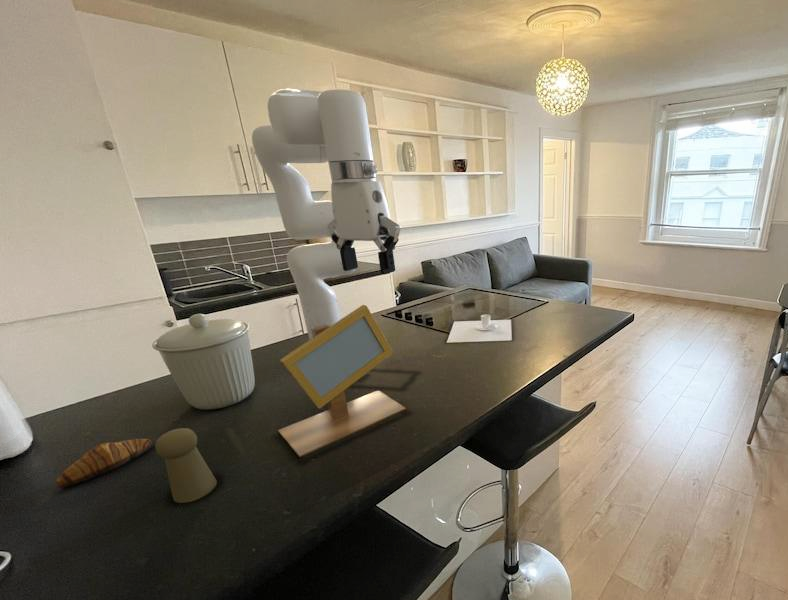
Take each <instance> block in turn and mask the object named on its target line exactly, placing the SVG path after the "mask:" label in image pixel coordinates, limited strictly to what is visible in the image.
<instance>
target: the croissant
mask: <svg viewBox="0 0 788 600" xmlns="http://www.w3.org/2000/svg"><path fill="white" fill-rule="evenodd" d="M152 447H153V442H152V440H151V439H150V438H133V439H126V440H121V441H117V442H105V443H100V444H98V445H96V446H94V447H93V448H91V449H89V450H87V451H85V453H84V454H83V455H82V456H81V457H80V458H79V459H77V460H75V461H74V462H73V463H72V464H71V465H69V466H68V467H67V468H65V469H64V470H63V471H62V472H61V473H60V475H58V477H57V478H56V486H58V487H59V488H61V489H65V488H68V487H71V486H75V485H78V484H82V483H84V482H86V481H89V480H91V479H94V478H96V477H99V476H101V475H103V474H107V473H109V472H111V471H113V470H116V469H118V468H119V467H122V466H123V465H125V464H127V463H128V462H130V461H132V460H134V459H136V458H137V457H140V456H141V455H143V454H144V453H146V452H147V451H149V450H150V449H151V448H152Z"/></svg>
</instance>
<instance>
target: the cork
mask: <svg viewBox="0 0 788 600" xmlns="http://www.w3.org/2000/svg"><path fill="white" fill-rule="evenodd" d="M197 444H198V436H197V434H196V433H195V432H194V430H193V429H190V428H186V427H185V428H184V427H183V428H182V427H181V428H176V429H171V430H169V431H166V432H165V433H163V434H162V435H160V436H159V437H158V438H157V439H156V442H155V444H154V446H155V447H154V448H155V451H156V453H157V454H158V455H159V457H161V458H164V463H165V467H166V472H167V477H168V482H169V486H170V491H171V495H172V500H173V501H174V502H176V503H178V504H185V503H191V502H194V501H198V500H199V499H201V498H203V497H205V496H206V495H208V494H209V493H211V492H212V491H213V490H214V489H215V488H216V486H217V484H218V483H217V482H218V481H217V479H216V477H215V475H214V474H213V472H212V471H211V469H210V467H209V466H208V464H207V463H206V461H205V459H204V458H203V456H202V454H201V452H200V451H199V450H198V448H197Z"/></svg>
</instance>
